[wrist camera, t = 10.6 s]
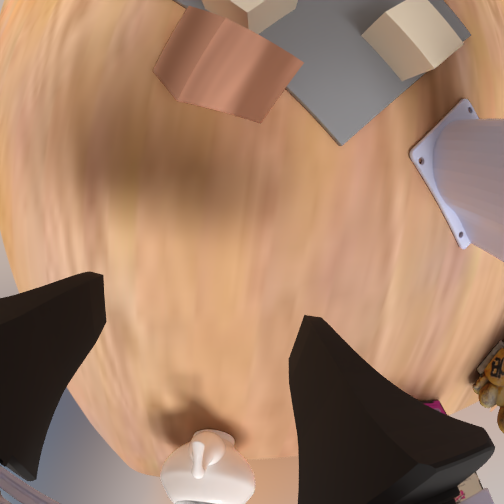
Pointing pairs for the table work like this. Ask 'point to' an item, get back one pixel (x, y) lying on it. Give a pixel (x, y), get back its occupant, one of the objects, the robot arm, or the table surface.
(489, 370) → the decorative figurine
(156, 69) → the terracotta block
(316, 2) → the puzzle board
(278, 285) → the table surface
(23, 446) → the robot arm
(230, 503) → the teapot
